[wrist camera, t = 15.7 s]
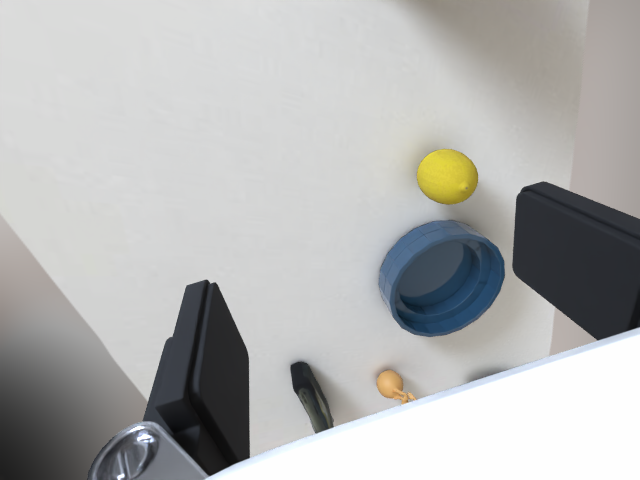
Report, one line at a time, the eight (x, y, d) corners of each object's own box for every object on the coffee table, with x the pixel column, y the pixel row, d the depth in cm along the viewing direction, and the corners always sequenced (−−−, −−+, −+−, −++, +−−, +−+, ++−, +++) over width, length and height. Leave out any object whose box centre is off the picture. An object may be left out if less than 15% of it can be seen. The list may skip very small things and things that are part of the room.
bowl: (433, 197, 42) (452, 211, 38) (504, 254, 48) (526, 271, 44) (355, 287, 46) (365, 308, 42) (430, 329, 52) (444, 351, 48)
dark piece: (289, 391, 46) (325, 453, 53) (310, 382, 46) (344, 445, 53) (286, 363, 50) (320, 423, 57) (305, 355, 50) (337, 417, 57)
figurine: (368, 360, 53) (399, 434, 42) (405, 347, 53) (445, 417, 43) (378, 394, 57) (407, 469, 46) (412, 382, 57) (450, 454, 47)
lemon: (458, 148, 40) (503, 167, 33) (439, 193, 42) (477, 219, 35) (416, 136, 38) (454, 153, 31) (398, 184, 41) (430, 209, 34)
